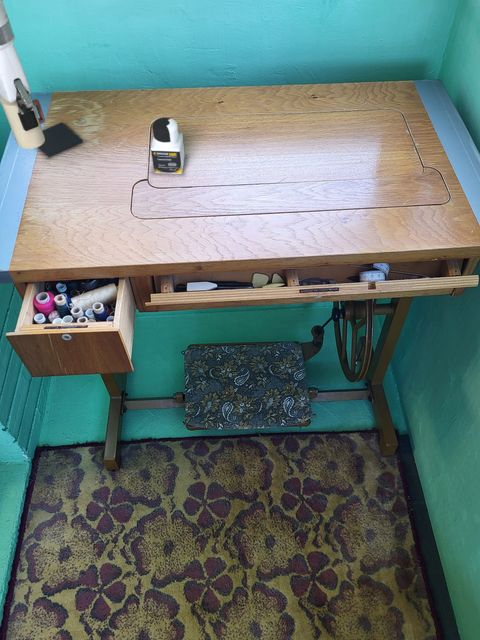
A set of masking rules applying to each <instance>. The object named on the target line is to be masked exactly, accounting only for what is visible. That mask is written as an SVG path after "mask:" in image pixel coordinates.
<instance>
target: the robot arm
mask: <svg viewBox="0 0 480 640" xmlns="http://www.w3.org/2000/svg"><path fill="white" fill-rule="evenodd" d="M15 40H16V36H15V33H14V30H13V27H12V25H11V21H10V18H9V15H8V12H7V9H6V7H5V3H4V1H3V0H0V97H1V96H2V97H3V98H4V99H5V100H7V101H8V102H11V103H12V102H13V101H14V103H15V105H16V107H17V109H18V111H19V113H18V116H19V118H20V121H21V124H22V127H23V129H24V130H25V131H28V130H31V129H33V128H36V127H38V126H39V124H38V121H37V118H36V115H35V113H34V109H33V102H32V100H33V99H32V100H31V99H30V97H29V96H30V95H31V94H32V92H31V88H30V84H29V81H28V78H27V75H26V73H25V69H24V67H23V64H22V62H21V59H20V56H19V54H18V52H17V49H16V48H15V45H14V44H13V43H14V42H15ZM16 93H19V95H20V96H17V97H16ZM21 99H22V100H23V104H22V105H21V106H20V104H19V102H18V101H19V100H21Z"/></svg>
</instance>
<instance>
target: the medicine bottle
mask: <svg viewBox="0 0 480 640" xmlns="http://www.w3.org/2000/svg"><path fill="white" fill-rule="evenodd" d="M151 128H152V134H153V137H152V142H151V147H150V153H151V161H152V167H153V172H154V173H155V174H173V175H174V174H175V175H176V174H177V175H182V174H183V173H184V172H183V171H184V165H185V158H186V157H185V146H184V136H183V133H182V132H179V125H178V123H177V121H176V120H174V119H173V118H170V117H160V118H157V119H155V120H154V121H153V123H152V124H151Z"/></svg>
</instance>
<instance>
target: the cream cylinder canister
mask: <svg viewBox="0 0 480 640" xmlns="http://www.w3.org/2000/svg"><path fill="white" fill-rule="evenodd" d="M17 96H20V95H19V93H16V97H17ZM29 97H30V99H31V100H32V102H33V109H34V113H35V115H36V118H37V121H38V124H39V126H38V127H36V128H33V129H31V130H28V131H25V130H24V129H23V127H22V124H21V121H20V118H19V116H18V113H19V111H18V109H17V107H16V105H15V103H14V101H13V102H12V103H11V102H8V101H7V100H5V99H4V98H3V97H2V96H1V95H0V104H1V107H2V110H3V112H4V114H5V117H6V119H7V122H8V125H9V127H10V130H11V132H12V134H13V137H14V139H15V142H16V145H17V146H18V147H19V148H21V149H24V150H33V149H37V148H38V147H39V146H41V145H42V144H43V143H44V142H45V137H44V134H43V128H42V124H44V123H45V122H46V117H45V114H44V112H43V111H44V110H43V109H42V105H41V102H40V100H39V99H38V98H36V99H35V98H34V99H32V95H31V94H30V96H29ZM18 102H19V104H20V106H21V105H22V104H23V100H22V99H21V100H19V101H18Z"/></svg>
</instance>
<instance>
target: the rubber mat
mask: <svg viewBox="0 0 480 640" xmlns="http://www.w3.org/2000/svg"><path fill="white" fill-rule="evenodd" d="M42 131H43V134H44V137H45V142H44V143H43V144H42V145H41V146H39V147H37V148H38V150H40V151H41V152H42V153H44V155H45V156H46V157H48V158H51V157H54V156H56V155H57V154H61V153H63V152H64V151H67V150H69V149H72V148H73V147H77V146H78V145H80V144H82V143H83V140H82V139H81V138H80V137H79V135H77V134H76V133H75V132H74V131H73V130H71V129H70V128H69V127H68V126H67V125H66V124H64V123H63V122H59V123H57V124H55V125H52V126H50V127H48V128H45V129H42Z"/></svg>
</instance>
